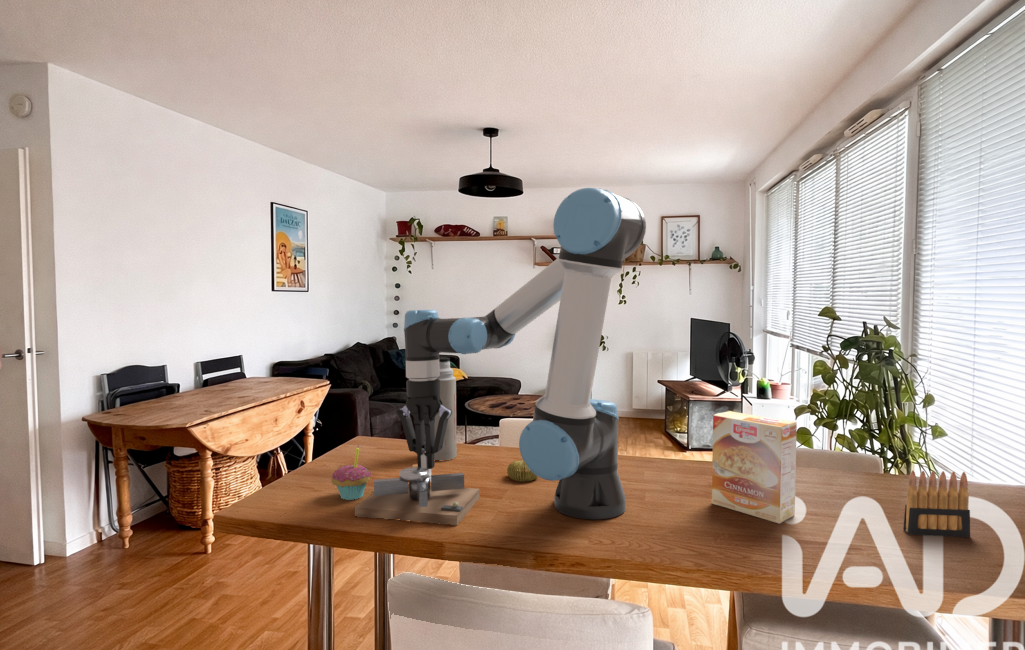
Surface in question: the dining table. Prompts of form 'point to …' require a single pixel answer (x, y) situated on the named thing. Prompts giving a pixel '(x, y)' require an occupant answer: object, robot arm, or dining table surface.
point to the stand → (440, 507)
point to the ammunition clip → (937, 507)
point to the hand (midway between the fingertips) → (426, 482)
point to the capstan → (418, 484)
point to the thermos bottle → (450, 403)
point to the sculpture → (523, 473)
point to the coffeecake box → (754, 465)
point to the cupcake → (351, 479)
